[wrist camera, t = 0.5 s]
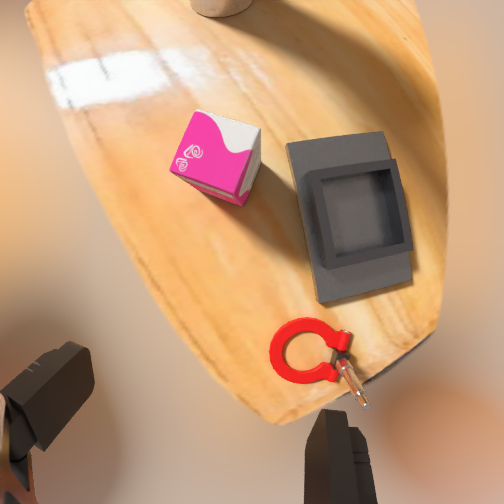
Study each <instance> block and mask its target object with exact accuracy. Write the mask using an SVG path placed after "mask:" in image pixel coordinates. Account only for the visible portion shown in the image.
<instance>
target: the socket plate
mask: <svg viewBox="0 0 504 504" xmlns="http://www.w3.org/2000/svg"><path fill="white" fill-rule="evenodd" d="M285 148H286V152H287V156H288V161H289V165H290V169H291V174H292V178H293V183H294V187H295V192H296V196H297V201H298V206H299V210H300V215H301V220H302V225H303V230H304V235H305V240H306V245H307V250H308V256H309V261H310V266H311V272H312V277H313V283H314V289H315V295H316V301H317V302H318V303H319V304H320V303H324V302H329V301H333V300H337V299H341V298H345V297H349V296H353V295H357V294H361V293H365V292H369V291H373V290H376V289H380V288H384V287H388V286H391V285H395V284H398V283H402V282H405V281H409V280H412V273H411V264H410V256H409V251H411V250H413V243H412V237H411V230H410V224H409V219H408V213H407V208H406V203H405V198H404V193H403V188H402V184H401V179H400V175H399V171H398V167H397V163H396V159H391V158H390V155H389V151H388V147H387V144H386V140H385V136H384V133H383V132H371V133H361V134H351V135H343V136H334V137H326V138H319V139H312V140H305V141H299V142H292V143H287V144H286V146H285Z"/></svg>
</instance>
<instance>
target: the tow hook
mask: <svg viewBox="0 0 504 504" xmlns="http://www.w3.org/2000/svg"><path fill="white" fill-rule="evenodd" d="M303 331H310V332H314V333H317V334H319V335H320V336H321V337H323V339H324V340H325V342H326V345H327V346H328V347H332V348H334V351H333V354H332V358H331V361H330V363H325V362H322V363H320V364H319V365H318V366H317V367H315V368H313V369H311V370H307V371H298V370H295V369H292V368H291V367H289V366H288V365H287V364H286V363H285V361H284V359H283V357H282V350H283V346H284V344H285V342H286V341H287V340H288V339H289V338H290V337H291V336H293V335H294V334H296V333H299V332H303ZM350 335H351V332H349V331H346V330H340V332H339V331H333V330H332V328H331V327H330V326H329V325H327V324H326V323H325V322H323V321H321V320H318V319H315V318H308V317H306V318H298V319H295V320H292V321H290V322H288V323H286V324H285V325H283V326H282V327H281V328H280V329H279V330H278V331H277V332H276V333H275V335H274V337H273V339H272V341H271V344H270V350H269V354H270V362H271V364H272V366H273V369H274V370H275V371H276V372H277V373H278V375H280V376H281V377H282V378H284V379H285V380H288V381H290V382H293V383H301V384H304V383H311V382H314V381H317V380H319V379H326V380H327V381H329V382H336V381H337V378H338V375H339V374H340V375H341V376H343V377H344V379H345V381H346V383H347V385H348V386H349V388H350V390H351V392H352V394H353V396H354V398H355V400H357V401H359V403H360V405H361V406H362V408H363V410H368V409H369V408H370V407H371V404H370V403H369V401H368V399H367V398H366V392H365V390H364V388H363V387H362V385H361V383H360V382H359V380H358V378H357V377H356V375H355V373H354V372H353V370H354V368H353V367H352V365H351V363H350V362H349V358H350V354H349V353H348V351H347V350H346V349H347V346H348V342H349V339H350Z"/></svg>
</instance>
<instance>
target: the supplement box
mask: <svg viewBox="0 0 504 504" xmlns="http://www.w3.org/2000/svg"><path fill="white" fill-rule="evenodd" d="M260 164H261V129H260V128H258V127H255V126H252V125H249V124H246V123H243V122H240V121H236V120H233V119H230V118H226V117H223V116H219V115H216V114H213V113H209V112H206V111H202V110H199V109H196V110H195V112H194V114H193V116H192V118H191V121H190V123H189V125H188V127H187V129H186V132H185V134H184V136H183V138H182V141H181V143H180V145H179V148H178V150H177V152H176V155H175V157H174V160H173V162H172V164H171V167H170V169H169V171H170V172H172V173H173V174H175V175H176V176H178V177H179V178H181V179H182V180H184V181H185V182H187V183H188V184H190V185H191V186H193V187H194V188H196V189H197V190H199V191H202V192H204V193H207V194H210V195H212V196H215V197H218V198H220V199H223V200H226V201H228V202H231V203H234V204H236V205H239V206H244V204H245V202H246V200H247V197H248V195H249V192H250V190H251V187H252V185H253V182H254V180H255V177H256V175H257V172H258V170H259V167H260Z"/></svg>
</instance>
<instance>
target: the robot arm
mask: <svg viewBox="0 0 504 504" xmlns="http://www.w3.org/2000/svg"><path fill="white" fill-rule="evenodd" d="M189 1H190V4H191V7H192V8H193V10H194V11H196V12H197V13H199V14H201V15H204V16H208V17H226V16H230V15H234V14H237V13H239V12H241V11H243V10H245V9H246V8H247V7H248V6H249V5H250V4H251V3H252V0H189ZM94 384H95V381H94V374H93V369H92V362H91V355H90V351H89V349H88V348H86V347H83V346H81V345H79V344H76V343H74V342H71V341H69V342H67V343H65V344H64V345H63V346H62V347H61V348H60V349H58V350H57V349H54V350H52V351H49V352H47V353H44V354H43V355H42V356H40V357H39V358H38V359H37V360H36V361H35V362H34V363H32V364H31V365H30V366H28V368H27V369H25V370H24V371H23V372H22V373H20V374H19V375H18V376H17V377H16V378H15V379H13V380H12V381H11V382H10V383H9V384H8V385H7V386H5V387H4V388H3V389H2V390H1V391H0V504H39V503H38V502H37V499H36V495H35V488H34V479H33V470H32V469H33V468H32V454H31V450H30V449H31V448H32V447H33V445H35V446H36V447H38V448H39V449H41V450H42V451H45V450H46V449H47V448H48V447H49V445H50V444H51V443H52V442H53V440H54V439H55V438H56V436H57V435H58V434H59V433H60V431H61V430H62V429H63V428H64V427H65V425H66V424H67V423H68V422H69V421H70V419H71V418H72V417H73V416H74V414H75V413H76V412H77V411H78V410H79V408H80V407H81V406H82V404H84V402H85V401H86V400H87V399H88V398H89V396H90V395H91V394H92V391H93V389H94ZM304 504H378V503H377V498H376V492H375V486H374V480H373V474H372V469H371V465H370V458H369V454H368V447H367V442H366V439H365V437H364V436H363V434H362V433H361V431H360V430H359V429H358V427H349V426H348V420H347V414H346V412H345V411H338V410H328V409H322V410H321V411H320V413H319V415H318V418H317V420H316V422H315V424H314V426H313V428H312V431H311V433H310V435H309V437H308V440H307V443H306V448H305V481H304Z"/></svg>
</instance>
